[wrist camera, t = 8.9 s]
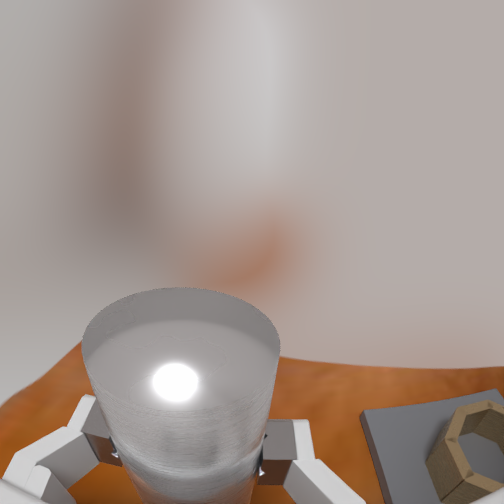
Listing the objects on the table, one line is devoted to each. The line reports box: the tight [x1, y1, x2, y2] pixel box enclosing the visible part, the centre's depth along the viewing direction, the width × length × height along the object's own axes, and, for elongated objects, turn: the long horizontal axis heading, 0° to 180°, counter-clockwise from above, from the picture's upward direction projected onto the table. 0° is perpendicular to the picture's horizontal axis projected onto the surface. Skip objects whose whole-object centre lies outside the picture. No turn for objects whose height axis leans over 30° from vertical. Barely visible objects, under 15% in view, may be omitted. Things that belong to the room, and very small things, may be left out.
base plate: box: [360, 389, 504, 504], centre depth 14 cm, size 16×16×1 cm
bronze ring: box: [425, 400, 504, 504], centre depth 14 cm, size 9×9×3 cm
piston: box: [82, 288, 280, 504], centre depth 8 cm, size 4×4×10 cm
